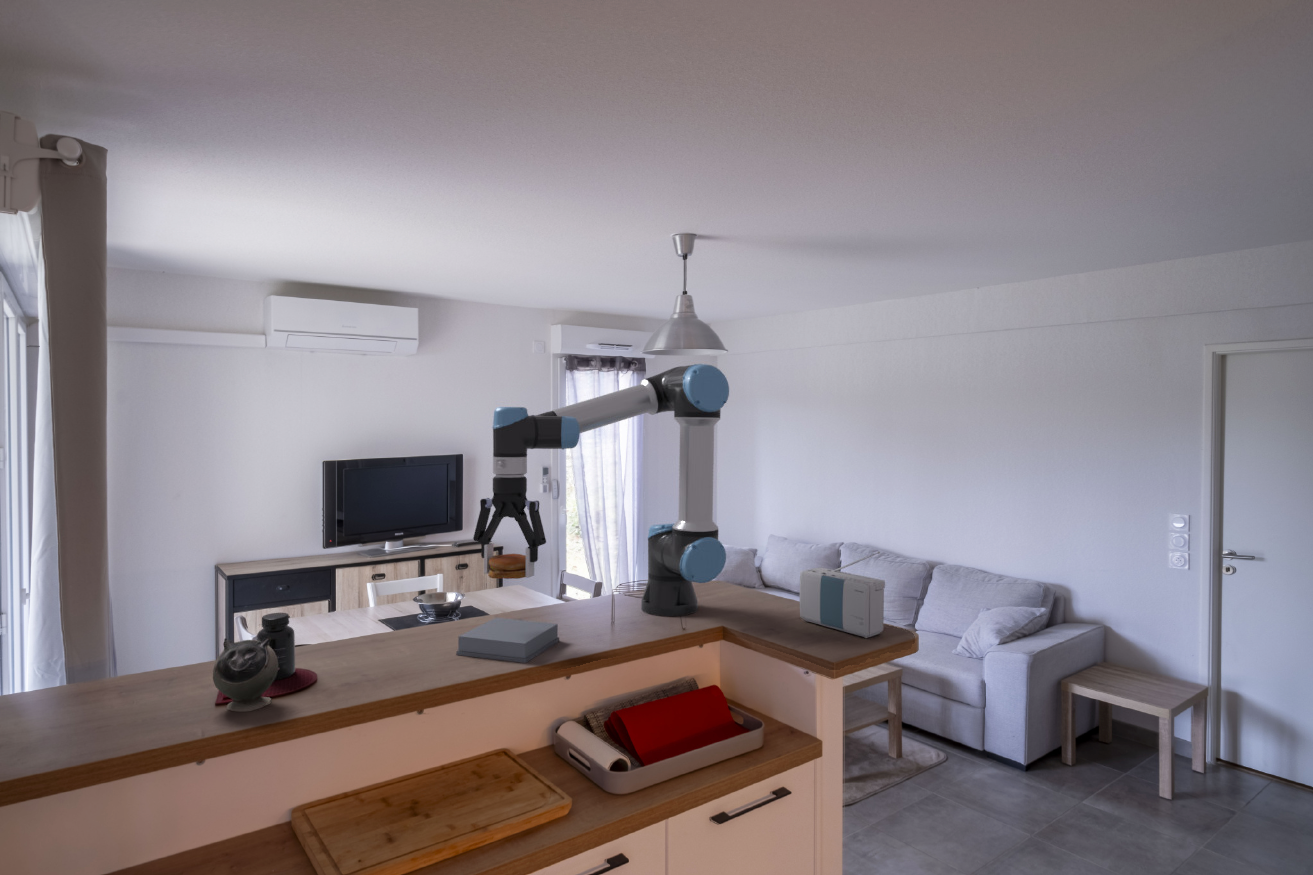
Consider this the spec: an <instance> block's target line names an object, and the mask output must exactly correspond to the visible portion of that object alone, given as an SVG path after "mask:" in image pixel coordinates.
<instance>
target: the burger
mask: <svg viewBox="0 0 1313 875" xmlns="http://www.w3.org/2000/svg"><path fill="white" fill-rule="evenodd" d="M489 565H490V571H489V573H488V574H487V575H488V577H489V578H490V579H498V580H499V579H506V580H509V579H510V580H511V579H515V580H517V579H524V578H526V554H521V553H520V554H519V553H505V554H498V555H493V557H491V558H490V560H489Z"/></svg>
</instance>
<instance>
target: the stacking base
mask: <svg viewBox="0 0 1313 875" xmlns="http://www.w3.org/2000/svg"><path fill="white" fill-rule="evenodd" d="M558 626H559V625H558V623H552V622H543V621H542V622H541V621H534V620H525V619H524V620H523V619H522V620H521V619H514V618H501V617H494V618H492V619H490V620H488V621H486V622H485V623H482V624H480V625H478V626H476V627H474V628H473V629H470V630H468V631H467V632H464V633H462V634H460V635H458V644H457V645H458V649H457V650H456V653H455V654H456V656H464V657H471V658H472V657H473V658H480V659H482V658H483V659H487V660H488V659H489V660H498V661H507V662H515V663H524V664H526V663H528V662H529V661H531V660H532V659H534V658H535V657H537V656H539V655H540V654H542V653H543V652H544V651H546V650H548V649H549V648H550V647H552V646H554V645H555V644H557V643H558V642H560V637H558V632H559V631H558V629H559V628H558Z"/></svg>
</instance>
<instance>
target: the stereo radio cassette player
mask: <svg viewBox="0 0 1313 875" xmlns="http://www.w3.org/2000/svg"><path fill="white" fill-rule="evenodd" d="M879 554H881V552H880V551H877V552H876V553H873V554H870V555H868V556H866V557H863V558H860V559H858V560H855V561H853V562H850V563H848V564H846V565H843V566H841V567H838V568H836V569H830V568H825V567H816V568H815V567H814V568H810V569H804V570H801V571H800V577H799V614H800V615H799V617H800V618H801V619H803V620H804V621H805V622H806V623H808V622H810V623H813V624H817V625H820V626H823V627H827V628H830V629H835V630H838V631H841V632H845V633H849V634H852V635H855V636H859V637H863V638H865V639H869V638H871V637H875V636H876V635H880V634H881V633H882V632H883V631H884V620H885V619H884V616H885V615H884V611H885V609H884V606H885V603H884V602H885V588H886V581H885V579H879V578H875V577H870V576H869V577H868V576H865V575H861V574H855V573H851V572H850V573H849V572H844V571H841V570H843V569H845V568H848V567H849V566H853V565H855V564H858V563H859V562H861V561H864V560H866V559H868V558H871V557H873V556H875V555H879Z"/></svg>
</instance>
